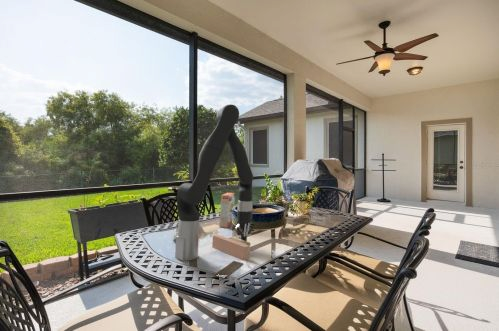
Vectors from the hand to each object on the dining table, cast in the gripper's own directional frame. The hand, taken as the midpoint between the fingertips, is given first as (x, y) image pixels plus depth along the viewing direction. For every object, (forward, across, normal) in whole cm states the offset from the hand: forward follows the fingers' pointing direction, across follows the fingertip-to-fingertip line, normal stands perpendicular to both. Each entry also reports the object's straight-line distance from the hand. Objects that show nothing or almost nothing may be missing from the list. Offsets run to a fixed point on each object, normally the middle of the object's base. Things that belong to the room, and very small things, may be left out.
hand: (243, 243), depth 139 cm
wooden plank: (+3, +23, +14) cm, 27 cm away
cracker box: (+3, -24, -38) cm, 45 cm away
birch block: (+3, +5, 0) cm, 6 cm away
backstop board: (+2, +10, 0) cm, 10 cm away
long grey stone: (+3, +8, -38) cm, 39 cm away
